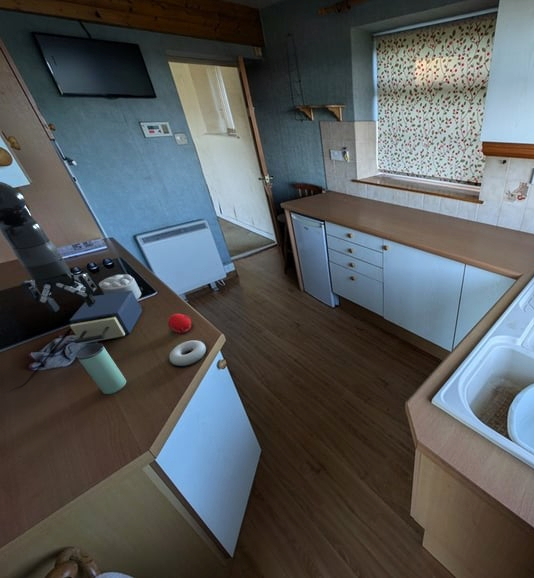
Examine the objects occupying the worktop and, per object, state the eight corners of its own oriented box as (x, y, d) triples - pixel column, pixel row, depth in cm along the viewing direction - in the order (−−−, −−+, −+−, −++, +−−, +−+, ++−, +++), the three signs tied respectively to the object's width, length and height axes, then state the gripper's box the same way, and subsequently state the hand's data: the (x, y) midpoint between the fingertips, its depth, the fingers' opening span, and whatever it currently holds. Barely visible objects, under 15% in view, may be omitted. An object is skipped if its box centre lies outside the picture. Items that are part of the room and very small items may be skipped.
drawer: (118, 346, 96) (107, 329, 92) (73, 355, 92) (60, 337, 88) (136, 313, 111) (128, 297, 107) (99, 319, 108) (88, 303, 104)
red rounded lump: (198, 327, 106) (192, 314, 103) (182, 337, 102) (176, 323, 98) (183, 321, 109) (177, 308, 106) (167, 330, 104) (161, 317, 101)
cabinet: (129, 333, 103) (117, 312, 98) (84, 342, 99) (69, 320, 94) (142, 310, 114) (132, 290, 110) (102, 317, 111) (89, 296, 106)
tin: (98, 396, 81) (70, 360, 73) (106, 381, 85) (81, 345, 78) (122, 390, 82) (97, 354, 75) (129, 376, 87) (106, 341, 79)
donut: (185, 372, 88) (214, 351, 96) (181, 364, 87) (210, 343, 94) (164, 362, 92) (193, 342, 100) (160, 354, 90) (190, 334, 98)
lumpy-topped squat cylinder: (132, 287, 129) (123, 269, 124) (147, 295, 123) (138, 277, 119) (103, 298, 121) (93, 280, 117) (118, 307, 116) (107, 289, 111)
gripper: (-4, 269, 74) (36, 320, 82) (67, 261, 78) (98, 310, 86) (16, 257, 80) (51, 305, 88) (81, 250, 84) (108, 297, 92)
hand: (74, 307), depth 87 cm, fingers open, 8 cm apart
